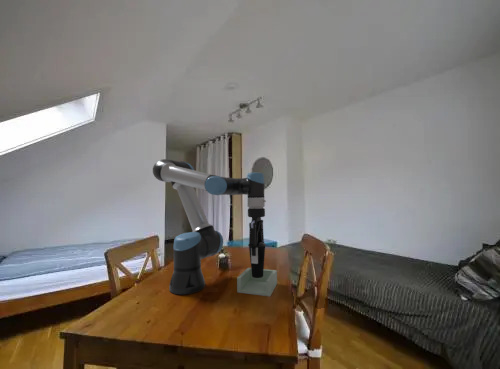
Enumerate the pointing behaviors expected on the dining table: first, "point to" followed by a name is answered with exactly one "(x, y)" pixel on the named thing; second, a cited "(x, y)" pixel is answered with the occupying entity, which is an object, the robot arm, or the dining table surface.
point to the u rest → (257, 283)
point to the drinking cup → (258, 268)
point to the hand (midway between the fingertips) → (257, 260)
